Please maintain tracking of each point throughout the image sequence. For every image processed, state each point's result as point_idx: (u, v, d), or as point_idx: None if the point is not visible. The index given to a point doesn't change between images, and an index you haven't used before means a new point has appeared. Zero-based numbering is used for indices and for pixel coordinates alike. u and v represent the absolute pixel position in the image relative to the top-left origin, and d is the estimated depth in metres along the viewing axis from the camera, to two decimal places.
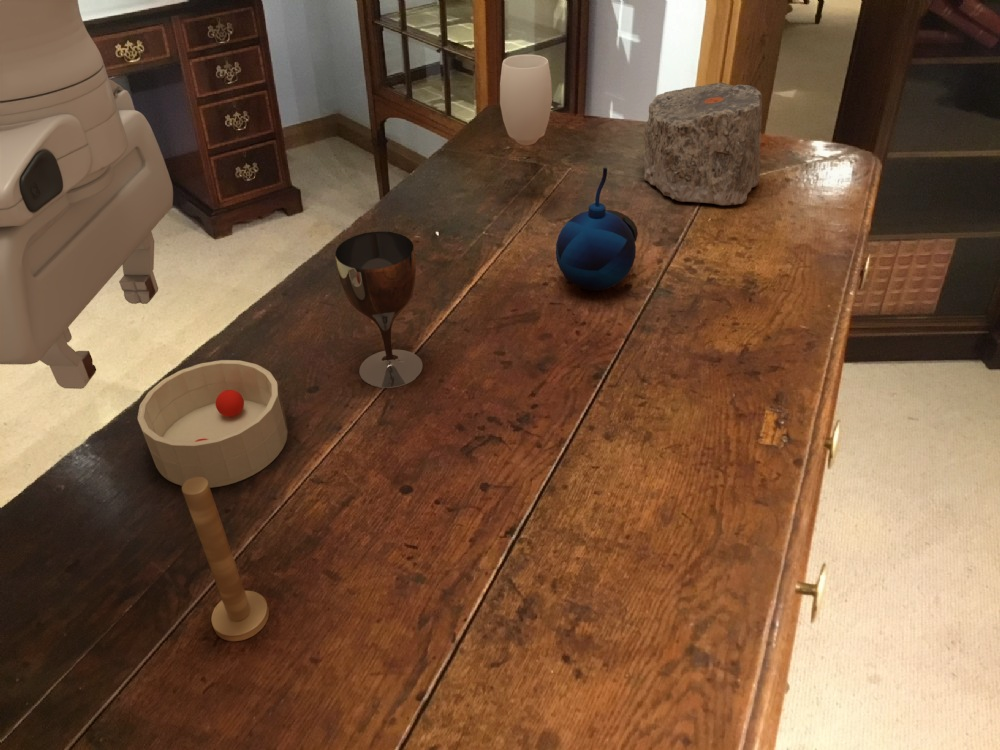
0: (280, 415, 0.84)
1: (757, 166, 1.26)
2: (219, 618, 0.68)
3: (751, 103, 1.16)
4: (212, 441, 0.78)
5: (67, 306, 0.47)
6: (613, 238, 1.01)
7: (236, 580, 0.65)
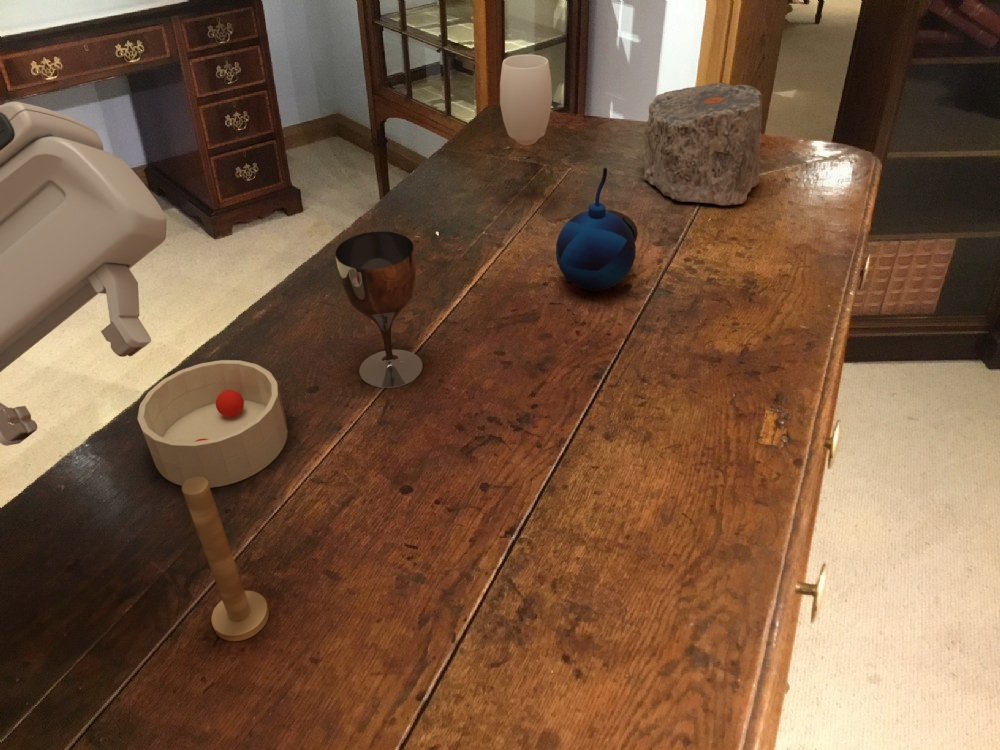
0: (280, 415, 0.84)
1: (757, 166, 1.26)
2: (219, 618, 0.68)
3: (751, 103, 1.16)
4: (212, 441, 0.78)
5: None
6: (613, 238, 1.01)
7: (236, 580, 0.65)
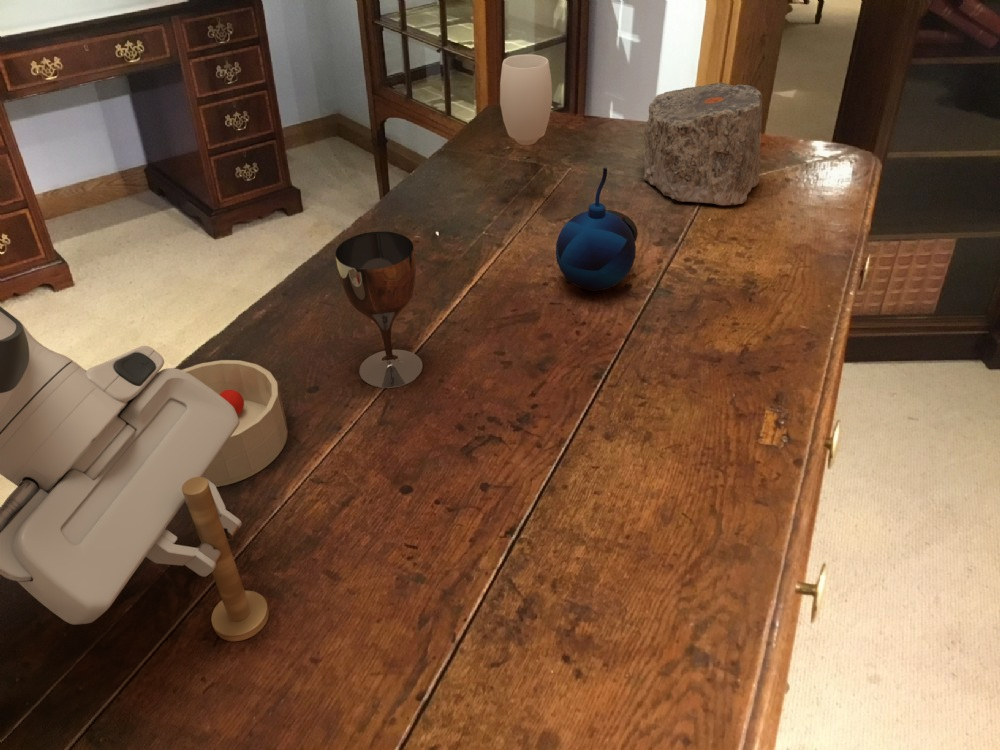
0: (280, 415, 0.84)
1: (757, 166, 1.26)
2: (219, 618, 0.68)
3: (751, 103, 1.16)
4: None
5: None
6: (613, 238, 1.01)
7: (236, 580, 0.65)
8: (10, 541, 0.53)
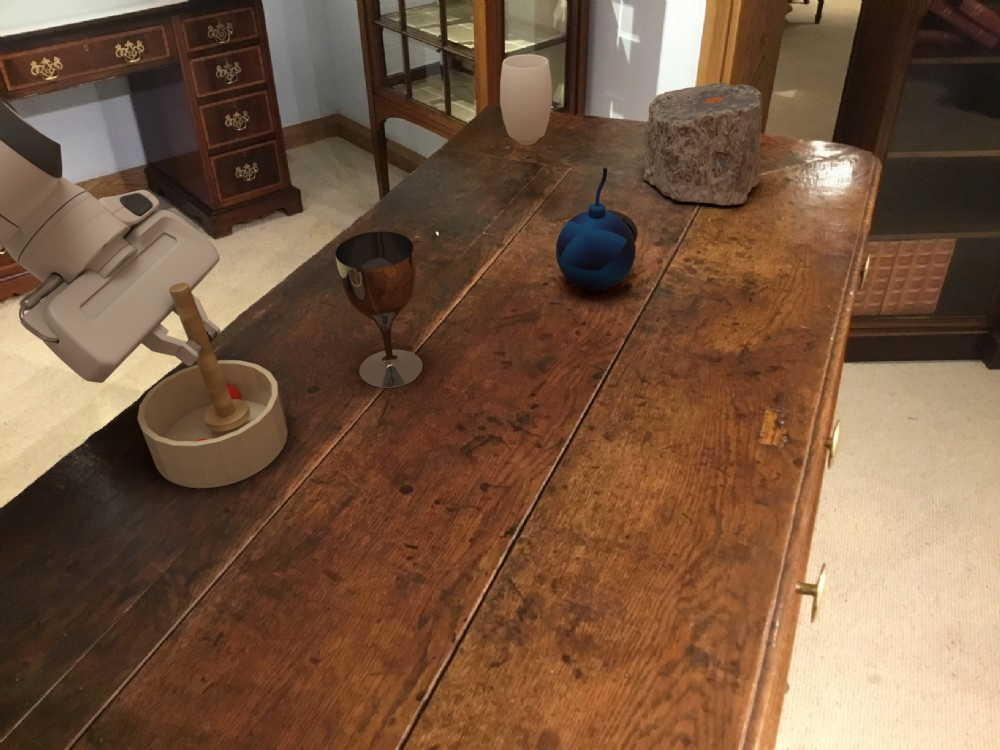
0: (280, 415, 0.84)
1: (757, 166, 1.26)
2: (210, 415, 0.85)
3: (751, 103, 1.16)
4: (212, 441, 0.78)
5: None
6: (613, 238, 1.01)
7: (218, 378, 0.83)
8: (42, 312, 0.71)
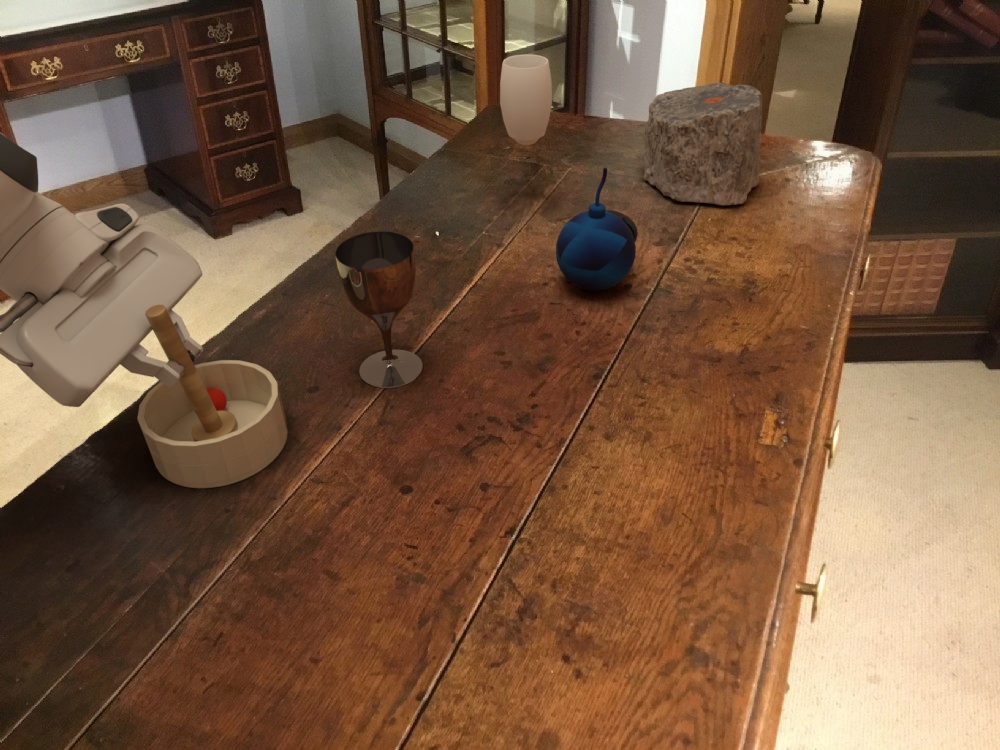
0: (280, 415, 0.84)
1: (757, 166, 1.26)
2: (198, 427, 0.84)
3: (751, 103, 1.16)
4: (212, 441, 0.78)
5: None
6: (613, 238, 1.01)
7: (201, 397, 0.80)
8: (15, 335, 0.68)
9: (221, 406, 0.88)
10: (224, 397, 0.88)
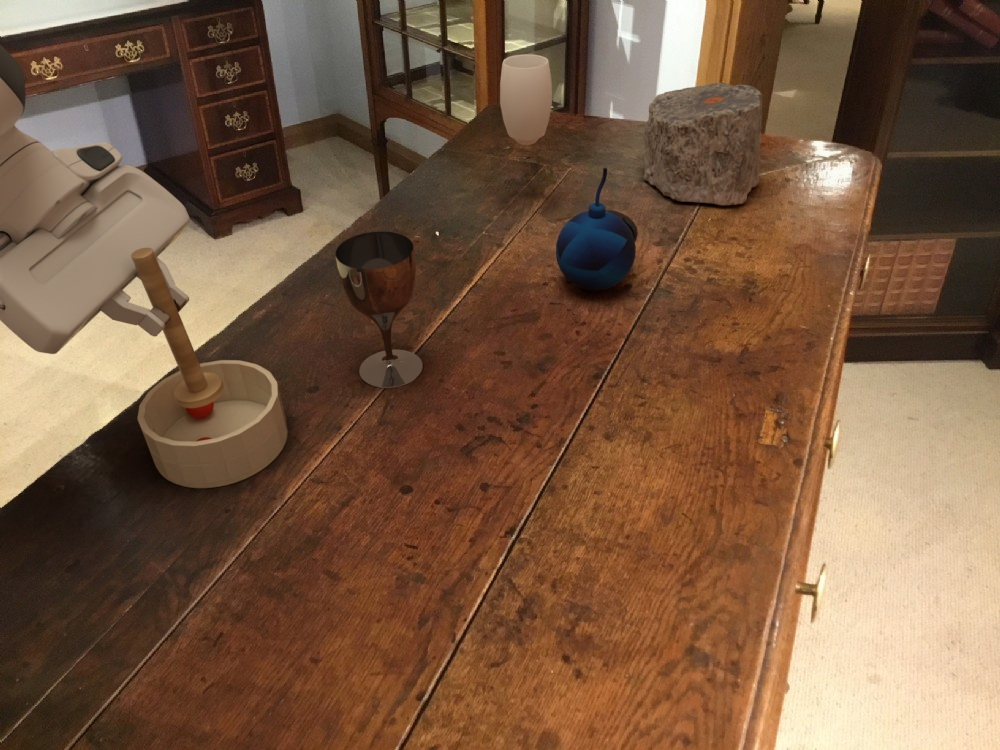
0: (280, 415, 0.84)
1: (757, 166, 1.26)
2: (181, 387, 0.79)
3: (751, 103, 1.16)
4: (212, 441, 0.78)
5: None
6: (613, 238, 1.01)
7: (186, 352, 0.76)
8: None
9: None
10: None
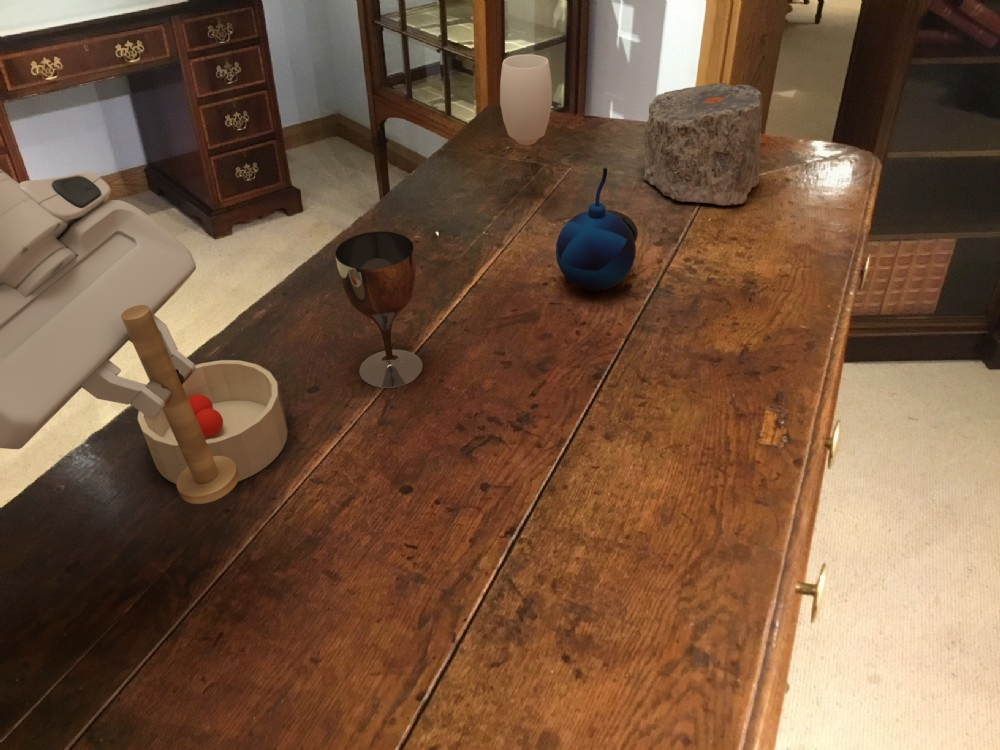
0: (280, 415, 0.84)
1: (757, 166, 1.26)
2: (186, 476, 0.63)
3: (751, 103, 1.16)
4: (212, 441, 0.78)
5: None
6: (613, 238, 1.01)
7: (192, 435, 0.60)
8: None
9: None
10: (199, 404, 0.86)
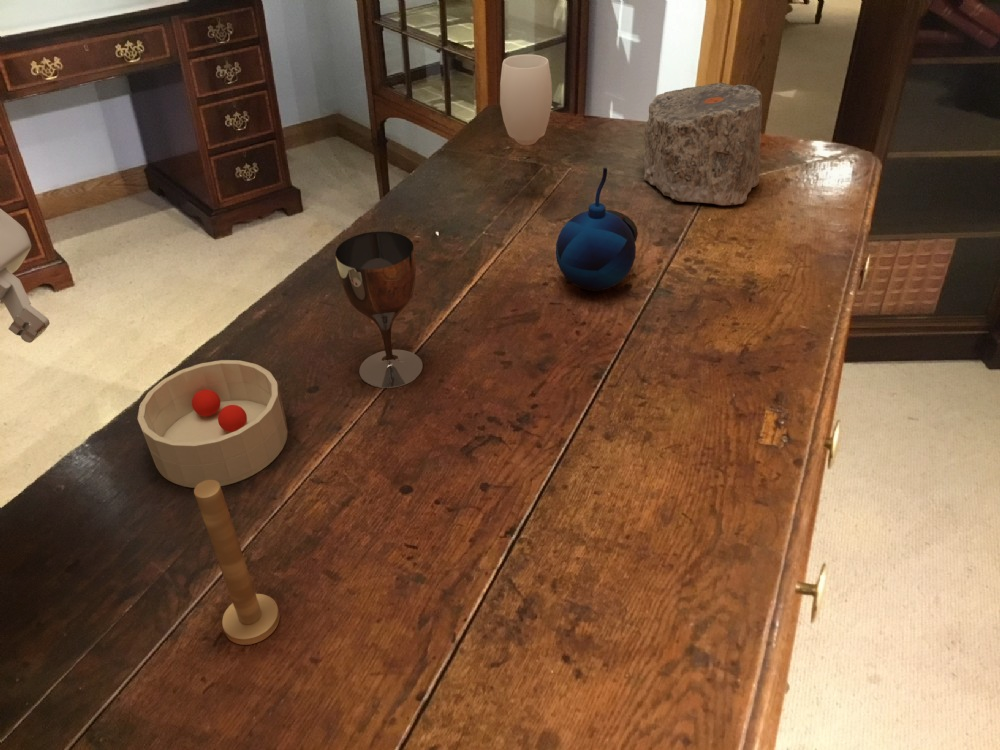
0: (280, 415, 0.84)
1: (757, 166, 1.26)
2: (230, 615, 0.68)
3: (751, 103, 1.16)
4: (212, 441, 0.78)
5: None
6: (613, 238, 1.01)
7: (244, 586, 0.65)
8: None
9: (213, 405, 0.87)
10: (213, 395, 0.88)
